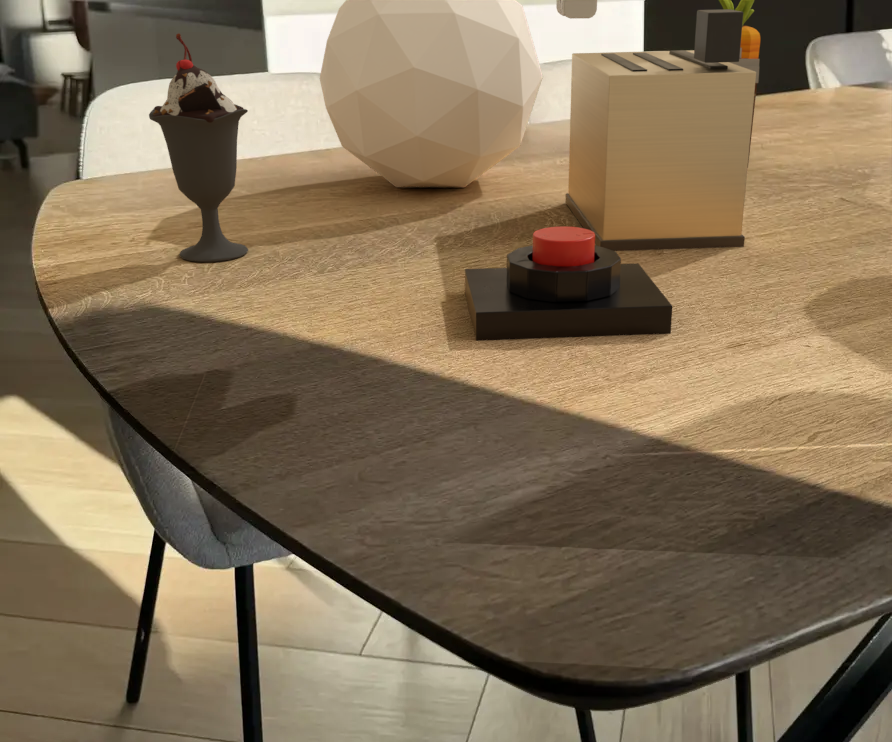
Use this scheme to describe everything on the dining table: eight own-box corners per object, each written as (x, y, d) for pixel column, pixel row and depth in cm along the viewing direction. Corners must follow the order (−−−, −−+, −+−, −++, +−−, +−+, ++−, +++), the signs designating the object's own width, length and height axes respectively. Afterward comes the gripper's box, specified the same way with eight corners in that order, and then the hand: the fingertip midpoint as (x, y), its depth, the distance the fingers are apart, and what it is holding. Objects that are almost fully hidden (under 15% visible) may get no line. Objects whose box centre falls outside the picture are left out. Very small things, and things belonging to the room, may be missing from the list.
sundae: (199, 239, 85) (175, 30, 79) (276, 245, 83) (258, 31, 77) (148, 261, 80) (118, 38, 73) (229, 268, 77) (205, 39, 71)
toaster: (686, 199, 95) (697, 47, 90) (744, 247, 80) (760, 68, 75) (565, 202, 94) (569, 50, 89) (600, 252, 79) (607, 72, 74)
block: (637, 289, 71) (640, 234, 70) (670, 334, 63) (674, 274, 61) (464, 295, 71) (464, 240, 69) (476, 341, 62) (475, 280, 61)
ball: (397, 268, 102) (251, 97, 91) (422, 153, 116) (298, -8, 105) (578, 173, 93) (440, -30, 82) (582, 60, 107) (464, -126, 96)
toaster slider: (727, 57, 79) (731, 9, 77) (739, 62, 76) (743, 11, 75) (693, 58, 79) (696, 10, 77) (704, 62, 76) (708, 12, 75)
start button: (588, 254, 67) (589, 225, 66) (599, 270, 64) (600, 240, 63) (528, 256, 67) (529, 227, 66) (536, 272, 64) (536, 242, 63)
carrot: (702, 137, 123) (712, -10, 117) (710, 130, 127) (721, -12, 121) (747, 139, 121) (761, -10, 115) (755, 132, 125) (768, -12, 119)
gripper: (703, -324, 46) (677, 29, 52) (613, -247, 65) (600, 7, 71) (553, -325, 46) (542, 30, 52) (505, -248, 65) (501, 8, 70)
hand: (575, 17), depth 61 cm, fingers closed
